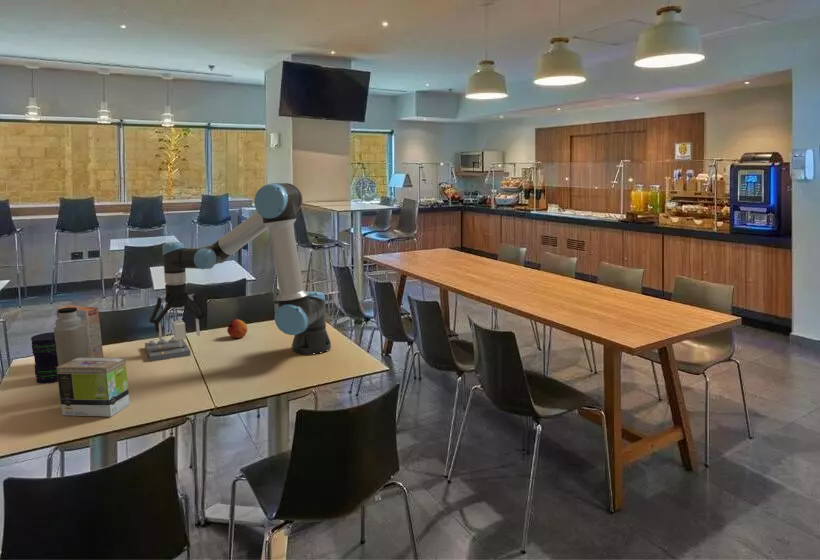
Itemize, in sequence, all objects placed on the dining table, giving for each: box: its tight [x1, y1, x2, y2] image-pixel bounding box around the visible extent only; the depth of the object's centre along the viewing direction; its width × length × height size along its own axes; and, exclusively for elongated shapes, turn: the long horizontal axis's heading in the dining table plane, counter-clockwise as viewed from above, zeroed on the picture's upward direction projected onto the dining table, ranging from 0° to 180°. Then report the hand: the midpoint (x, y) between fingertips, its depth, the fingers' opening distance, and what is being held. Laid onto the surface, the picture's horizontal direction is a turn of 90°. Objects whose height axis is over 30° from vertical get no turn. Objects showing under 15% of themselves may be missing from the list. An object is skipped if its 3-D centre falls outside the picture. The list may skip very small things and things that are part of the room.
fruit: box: [226, 318, 248, 339], centre depth 241 cm, size 8×8×8 cm
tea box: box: [56, 357, 130, 418], centre depth 166 cm, size 15×10×15 cm, turn 84°
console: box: [144, 336, 192, 362], centre depth 223 cm, size 20×14×4 cm
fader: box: [172, 319, 187, 347], centre depth 221 cm, size 6×4×10 cm, turn 30°
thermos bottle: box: [53, 307, 88, 366], centre depth 175 cm, size 8×8×28 cm
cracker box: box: [56, 305, 104, 358], centre depth 208 cm, size 14×6×21 cm, turn 71°
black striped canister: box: [30, 331, 58, 385], centre depth 192 cm, size 10×10×15 cm
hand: (179, 337), depth 221 cm, fingers open, 13 cm apart
